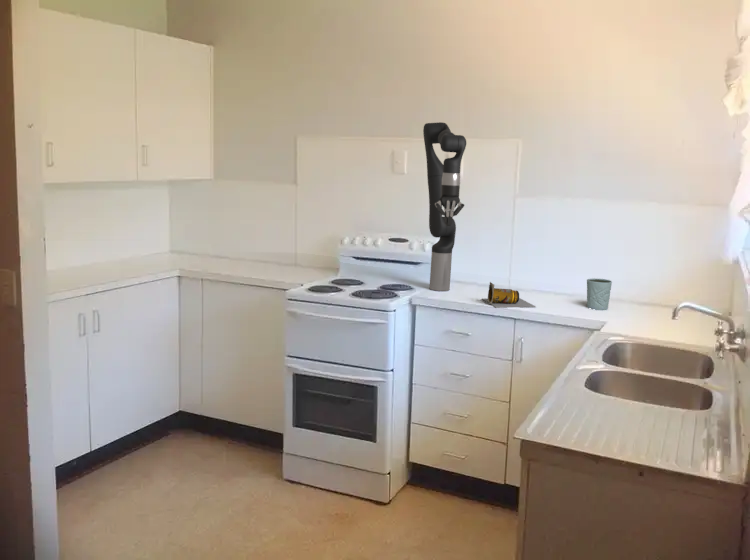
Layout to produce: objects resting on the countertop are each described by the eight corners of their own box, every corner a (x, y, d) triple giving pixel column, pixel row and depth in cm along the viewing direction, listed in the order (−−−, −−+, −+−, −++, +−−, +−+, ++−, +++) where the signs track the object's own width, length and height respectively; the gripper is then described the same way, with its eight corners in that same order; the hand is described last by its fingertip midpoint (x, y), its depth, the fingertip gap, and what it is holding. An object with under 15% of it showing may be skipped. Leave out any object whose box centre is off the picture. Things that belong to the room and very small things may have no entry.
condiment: (491, 304, 317) (519, 306, 318) (494, 284, 315) (521, 286, 317) (486, 300, 324) (513, 302, 326) (489, 281, 322) (516, 283, 324)
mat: (481, 299, 328) (481, 298, 328) (520, 299, 332) (520, 298, 332) (495, 307, 313) (495, 306, 313) (535, 307, 317) (535, 306, 317)
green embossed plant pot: (610, 311, 316) (613, 283, 313) (585, 309, 318) (587, 281, 315) (607, 306, 325) (610, 279, 323) (583, 304, 327) (586, 277, 325)
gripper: (462, 183, 318) (460, 225, 321) (432, 182, 315) (430, 224, 318) (469, 185, 311) (466, 227, 314) (438, 184, 308) (435, 226, 311)
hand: (448, 225), depth 316 cm, fingers closed
